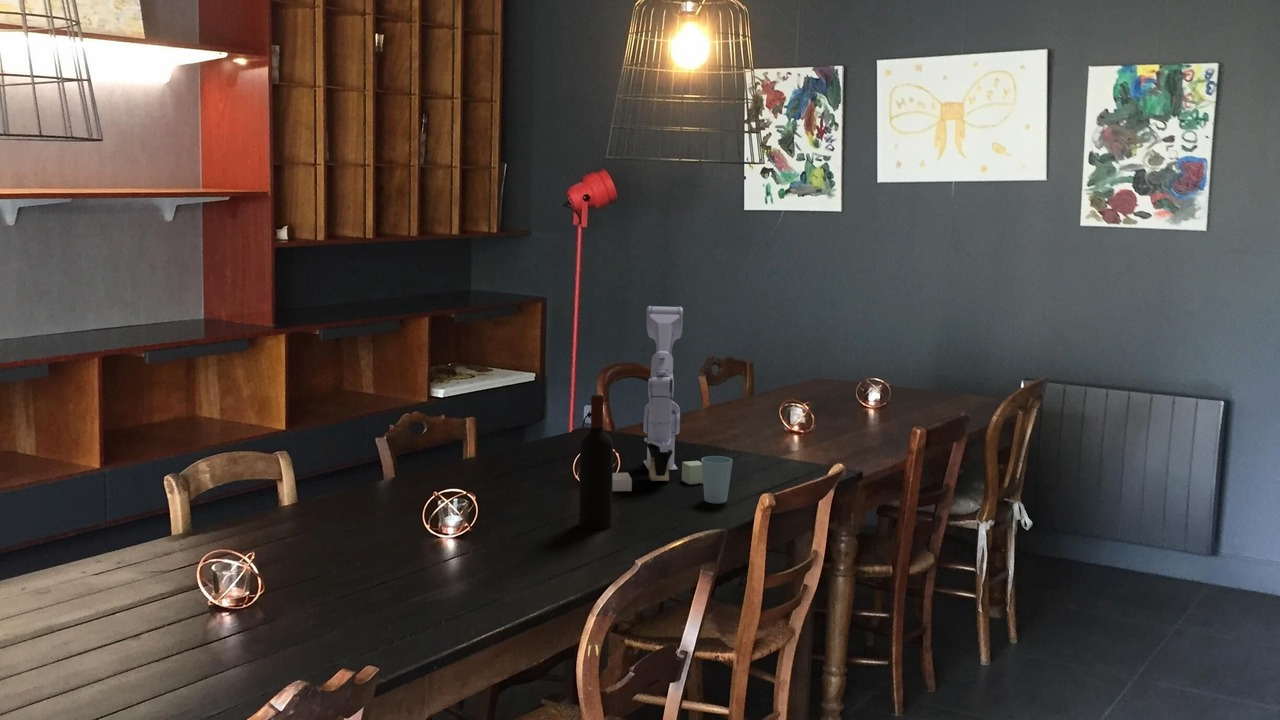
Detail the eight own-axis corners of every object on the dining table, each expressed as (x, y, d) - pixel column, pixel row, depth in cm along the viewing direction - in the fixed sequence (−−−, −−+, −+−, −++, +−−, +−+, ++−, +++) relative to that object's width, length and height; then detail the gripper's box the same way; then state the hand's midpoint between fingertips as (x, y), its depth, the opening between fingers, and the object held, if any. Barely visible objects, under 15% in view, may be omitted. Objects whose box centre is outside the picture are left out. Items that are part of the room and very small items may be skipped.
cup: (737, 502, 303) (739, 460, 301) (713, 506, 299) (714, 464, 297) (718, 495, 309) (719, 454, 307) (694, 499, 305) (695, 458, 303)
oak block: (648, 476, 324) (649, 457, 323) (665, 476, 324) (666, 457, 323) (651, 480, 319) (652, 461, 318) (668, 480, 320) (669, 461, 319)
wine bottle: (572, 526, 279) (574, 396, 274) (589, 518, 286) (591, 391, 281) (601, 531, 275) (603, 399, 271) (617, 523, 282) (620, 394, 278)
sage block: (681, 480, 323) (682, 462, 322) (697, 479, 325) (697, 460, 324) (689, 484, 319) (689, 465, 318) (704, 483, 321) (705, 464, 320)
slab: (600, 484, 317) (601, 473, 317) (627, 484, 318) (628, 472, 318) (604, 491, 310) (604, 479, 310) (631, 490, 311) (631, 479, 311)
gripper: (640, 416, 326) (639, 466, 328) (649, 428, 312) (648, 480, 314) (667, 416, 327) (665, 466, 329) (676, 427, 313) (675, 479, 315)
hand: (658, 473), depth 321 cm, fingers closed on oak block, 4 cm apart
